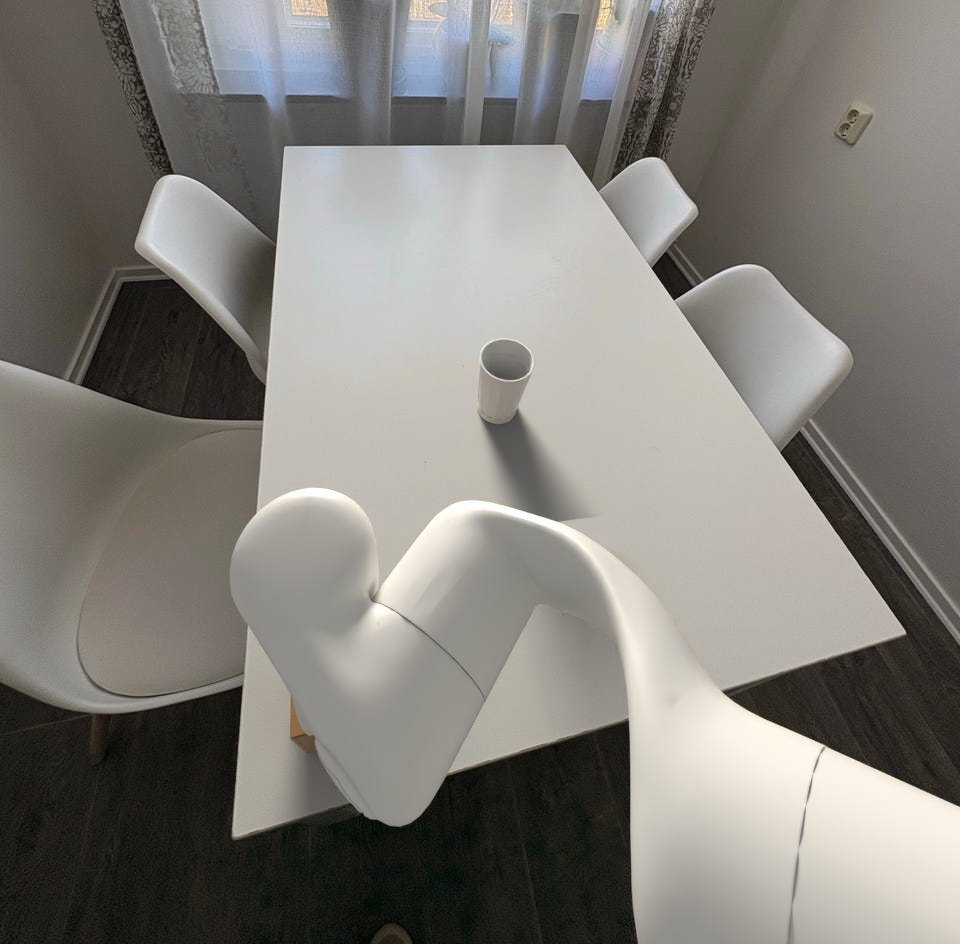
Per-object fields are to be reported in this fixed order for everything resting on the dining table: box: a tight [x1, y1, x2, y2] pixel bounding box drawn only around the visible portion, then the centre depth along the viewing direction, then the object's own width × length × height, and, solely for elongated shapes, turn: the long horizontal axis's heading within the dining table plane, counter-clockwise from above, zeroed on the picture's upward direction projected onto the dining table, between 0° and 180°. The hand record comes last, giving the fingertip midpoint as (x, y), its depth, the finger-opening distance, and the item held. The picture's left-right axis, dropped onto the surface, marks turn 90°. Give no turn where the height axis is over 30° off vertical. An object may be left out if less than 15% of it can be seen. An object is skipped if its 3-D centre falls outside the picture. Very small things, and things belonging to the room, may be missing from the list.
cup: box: [476, 337, 536, 425], centre depth 80 cm, size 8×8×12 cm
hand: (345, 672), depth 49 cm, fingers closed
